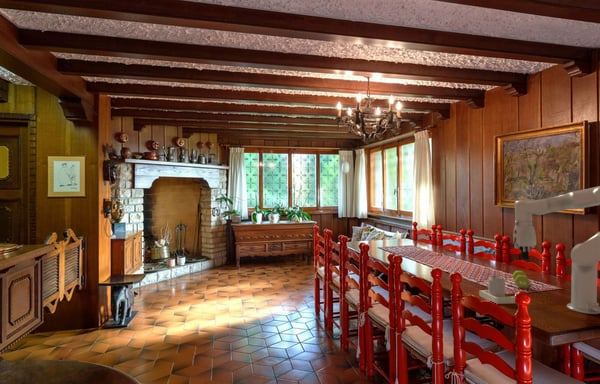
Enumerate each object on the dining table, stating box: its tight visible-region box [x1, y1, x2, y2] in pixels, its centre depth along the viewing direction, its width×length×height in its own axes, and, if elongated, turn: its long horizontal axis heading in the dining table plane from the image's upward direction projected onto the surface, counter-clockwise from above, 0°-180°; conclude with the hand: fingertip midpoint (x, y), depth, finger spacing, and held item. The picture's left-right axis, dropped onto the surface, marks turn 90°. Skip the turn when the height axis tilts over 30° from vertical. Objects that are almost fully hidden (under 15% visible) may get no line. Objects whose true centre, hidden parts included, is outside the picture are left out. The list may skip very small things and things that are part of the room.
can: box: [487, 275, 506, 297], centre depth 184 cm, size 8×8×12 cm
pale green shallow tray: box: [478, 289, 516, 305], centre depth 184 cm, size 13×11×3 cm
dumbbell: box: [511, 270, 531, 289], centre depth 211 cm, size 16×8×7 cm, turn 153°
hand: (525, 259), depth 184 cm, fingers closed
